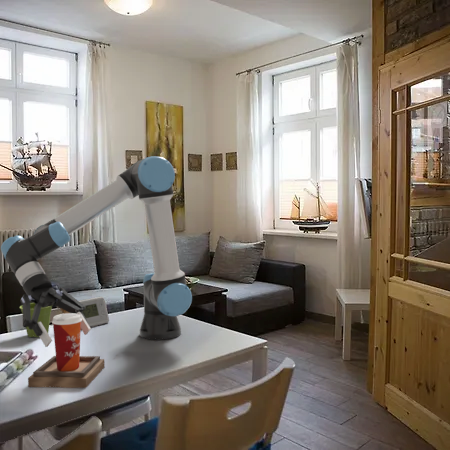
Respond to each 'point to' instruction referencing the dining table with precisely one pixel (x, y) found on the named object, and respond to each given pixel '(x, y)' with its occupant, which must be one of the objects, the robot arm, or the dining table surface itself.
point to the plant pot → (43, 318)
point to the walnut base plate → (67, 374)
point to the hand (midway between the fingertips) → (69, 337)
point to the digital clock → (95, 311)
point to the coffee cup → (67, 340)
